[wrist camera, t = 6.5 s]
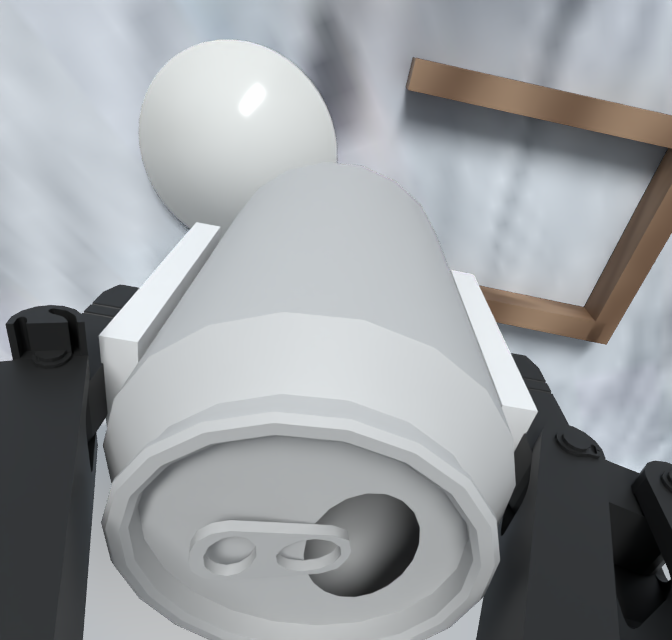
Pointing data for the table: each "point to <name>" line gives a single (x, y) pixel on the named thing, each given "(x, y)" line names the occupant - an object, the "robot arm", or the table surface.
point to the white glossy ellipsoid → (229, 128)
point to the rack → (642, 230)
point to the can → (312, 429)
